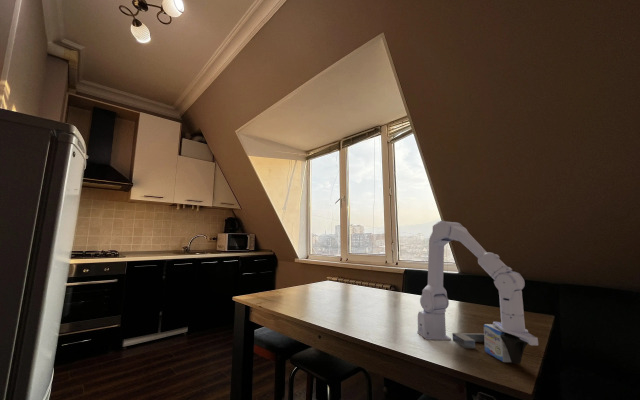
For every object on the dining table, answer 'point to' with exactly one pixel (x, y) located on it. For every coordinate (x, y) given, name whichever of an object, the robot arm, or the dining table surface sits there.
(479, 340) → the grey flat block
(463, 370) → the dining table surface
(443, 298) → the robot arm
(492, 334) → the medicine box
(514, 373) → the dining table surface
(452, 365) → the dining table surface
